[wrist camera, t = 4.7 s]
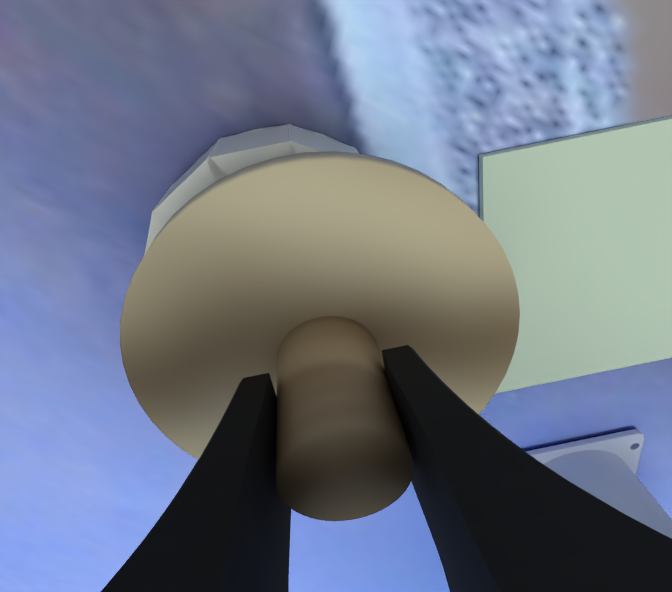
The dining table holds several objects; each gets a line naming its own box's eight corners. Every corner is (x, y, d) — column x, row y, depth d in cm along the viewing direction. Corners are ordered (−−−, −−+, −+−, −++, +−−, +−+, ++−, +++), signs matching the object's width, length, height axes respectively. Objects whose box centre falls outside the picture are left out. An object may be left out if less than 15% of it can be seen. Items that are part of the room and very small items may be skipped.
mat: (673, 351, 23) (679, 356, 23) (482, 390, 23) (485, 395, 23) (735, 102, 17) (744, 104, 17) (478, 154, 17) (483, 157, 17)
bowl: (405, 315, 21) (426, 362, 18) (209, 354, 21) (196, 409, 18) (381, 102, 16) (404, 117, 13) (129, 153, 16) (94, 179, 13)
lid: (509, 424, 15) (588, 560, 11) (211, 494, 15) (188, 651, 11) (502, 101, 10) (645, 147, 6) (49, 213, 10) (-93, 328, 6)
